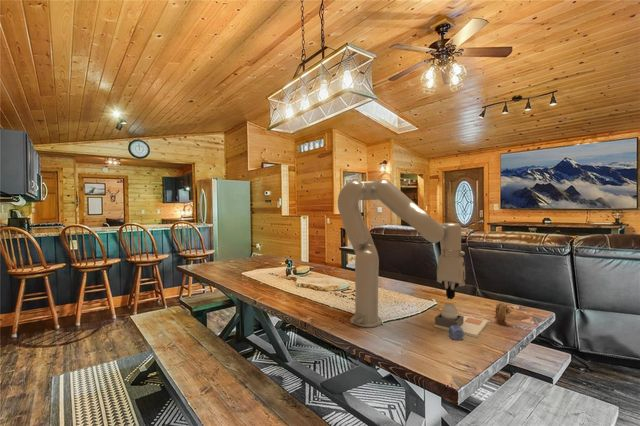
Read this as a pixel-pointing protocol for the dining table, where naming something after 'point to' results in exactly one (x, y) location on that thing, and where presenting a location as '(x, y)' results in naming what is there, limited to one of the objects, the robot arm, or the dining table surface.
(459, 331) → the decorative dice
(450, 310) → the dome button
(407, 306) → the dining table surface
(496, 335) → the dining table surface
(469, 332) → the game board
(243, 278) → the dining table surface
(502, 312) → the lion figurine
